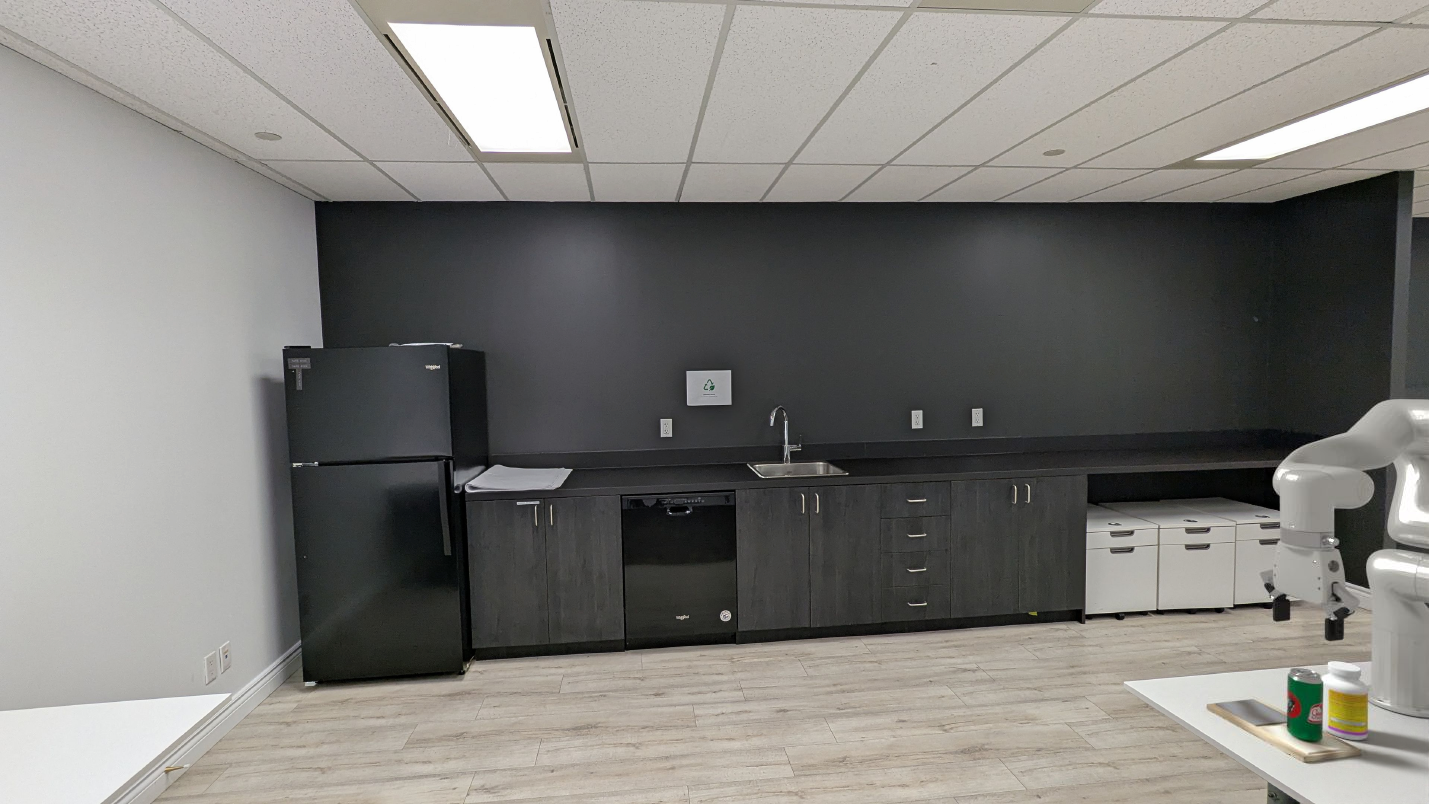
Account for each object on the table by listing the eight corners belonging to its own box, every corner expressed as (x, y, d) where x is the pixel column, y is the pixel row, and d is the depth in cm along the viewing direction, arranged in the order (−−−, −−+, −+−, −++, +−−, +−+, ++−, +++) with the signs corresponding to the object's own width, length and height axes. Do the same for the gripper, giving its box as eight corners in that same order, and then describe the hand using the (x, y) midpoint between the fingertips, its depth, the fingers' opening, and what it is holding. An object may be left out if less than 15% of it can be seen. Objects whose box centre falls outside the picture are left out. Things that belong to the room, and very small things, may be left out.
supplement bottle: (1377, 743, 128) (1377, 674, 127) (1335, 740, 129) (1336, 672, 129) (1351, 725, 135) (1352, 659, 134) (1312, 722, 136) (1312, 657, 135)
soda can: (1315, 746, 125) (1316, 681, 124) (1281, 734, 129) (1282, 670, 129) (1327, 738, 127) (1328, 674, 127) (1293, 726, 132) (1294, 664, 131)
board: (1257, 703, 144) (1257, 697, 144) (1360, 755, 124) (1361, 747, 124) (1206, 708, 142) (1206, 702, 142) (1303, 762, 122) (1303, 755, 122)
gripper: (1375, 548, 119) (1375, 646, 120) (1279, 526, 136) (1279, 612, 137) (1338, 551, 118) (1338, 650, 118) (1245, 529, 135) (1246, 615, 136)
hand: (1306, 629), depth 128 cm, fingers open, 9 cm apart
